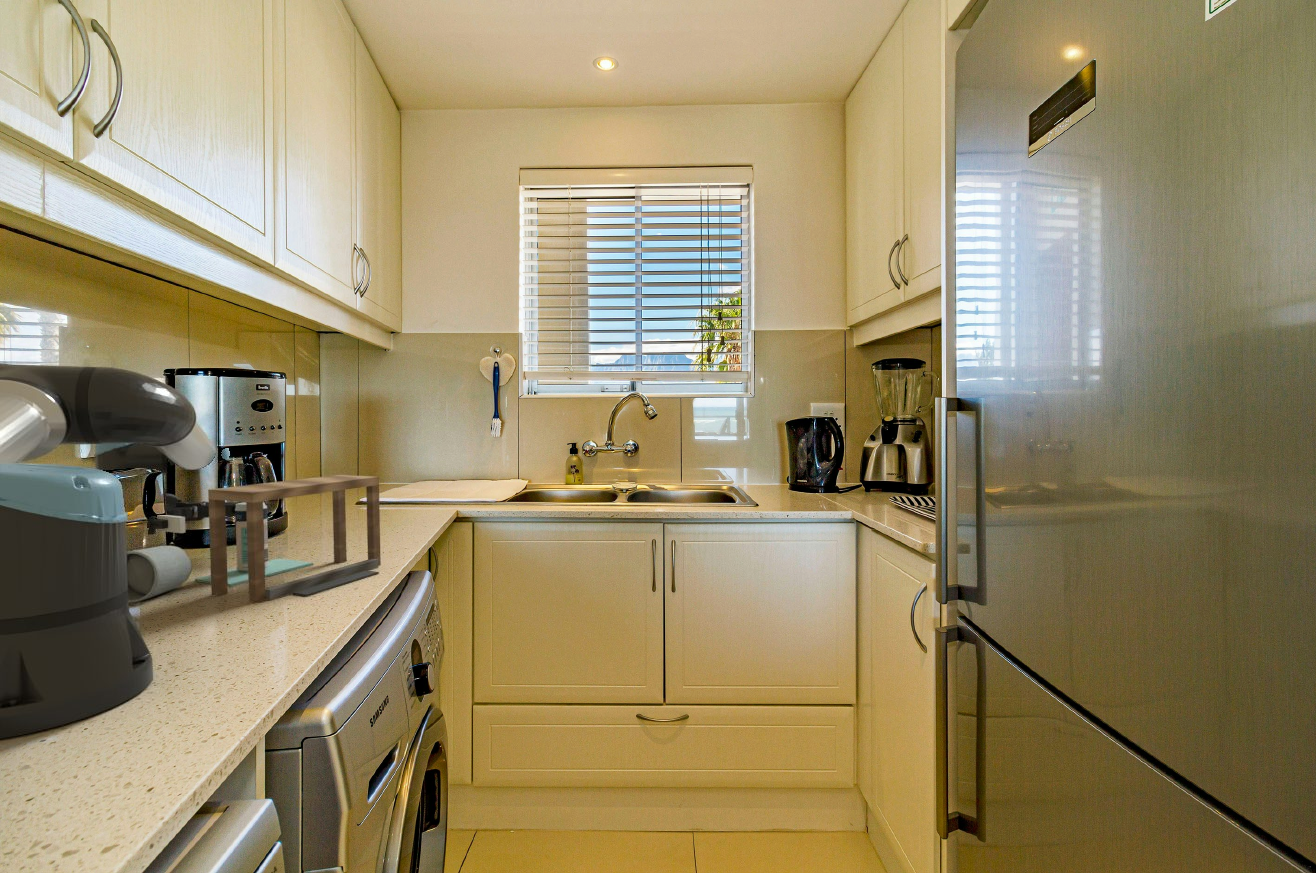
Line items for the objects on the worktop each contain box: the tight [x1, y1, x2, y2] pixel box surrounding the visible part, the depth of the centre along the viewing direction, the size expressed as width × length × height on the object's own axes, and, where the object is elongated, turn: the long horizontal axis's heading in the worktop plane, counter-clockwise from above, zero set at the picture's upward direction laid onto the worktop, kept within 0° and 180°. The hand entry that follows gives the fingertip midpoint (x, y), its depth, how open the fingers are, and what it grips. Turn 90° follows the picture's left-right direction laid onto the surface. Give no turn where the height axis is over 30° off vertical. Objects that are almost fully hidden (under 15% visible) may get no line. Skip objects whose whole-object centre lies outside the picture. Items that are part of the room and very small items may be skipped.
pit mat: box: [292, 570, 380, 598], centre depth 99 cm, size 14×3×1 cm, turn 159°
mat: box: [194, 558, 314, 587], centre depth 106 cm, size 15×9×1 cm, turn 159°
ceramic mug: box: [127, 545, 193, 603], centre depth 93 cm, size 11×8×8 cm
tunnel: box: [207, 474, 382, 603], centre depth 101 cm, size 24×11×16 cm, turn 159°
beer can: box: [235, 501, 269, 572], centre depth 106 cm, size 5×5×12 cm
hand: (224, 518), depth 109 cm, fingers open, 13 cm apart
